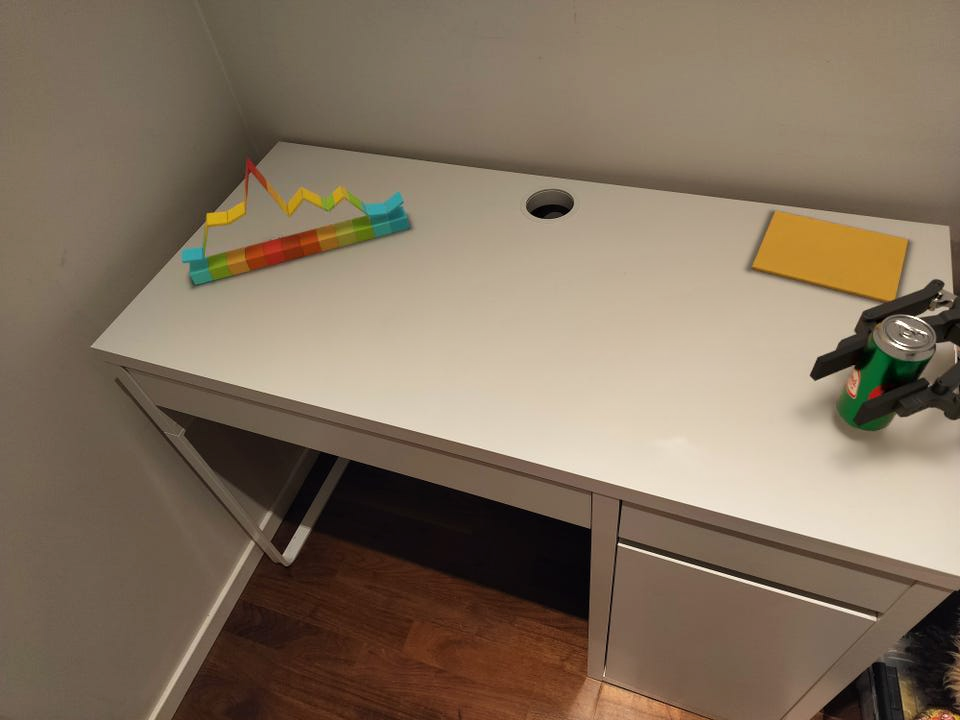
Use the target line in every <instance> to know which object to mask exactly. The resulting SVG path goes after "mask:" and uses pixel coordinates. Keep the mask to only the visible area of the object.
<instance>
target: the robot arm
mask: <svg viewBox="0 0 960 720" xmlns="http://www.w3.org/2000/svg"><path fill="white" fill-rule="evenodd" d="M945 286H946V284H945V282H944V281H943V280H942V279H938V278H934V279H932V280H931V281H929V283H927V284H926V286H924V287H923V288H921V289H919V290H916V291H914V292H911V293H907V294H905V295H902V296H900V297H897V298H895V299H894V300H891V301H889V302H883V303H881V304H878V305H876V306H874V307H873V306H872V307H869V308H867V309H865V310H863V311H862V312H861V315H860V316H859V319H858V320H857V323H856V325H855V327H854V329H853V330H854V331H853V332H854V333H855V334H852V335H850V336H847V337H845V338H842V339H841V340H840V341H839V342H838V343H837V345H836V348H835V350H832V351H829V352H827V353H824V354H822V355H819V356H817V357H816V359H815V362H814V363H813V366H812V369H811V371H810V373H809V377H810V378H811V379H812V380H813V381H814V382H816V381H818V380H821V379H824V378H826V377H829V376H832V375H834V374H837V373H839V372H841V371H843V370H846V369H848V368H851V367H854V366H855V364H856V362H857V360H858V358H859V356H860V354H861V352H862V350H863V348H864V346H865V344H866V342H867V340H868V338H869V336H870V334H871V332H872V330H873V328H874V327H875V326H876V325H877V324H879V323H881V322H882V321H883V320H884V319H886V318H887V317H889V316H893V315H910V316H913V317H918V316H920V315H923V314H924V313H925V312H927V311H930V312H934V311H935V310H936V309H939V308H948V309H945V310H942V311H941V312H939V313H938V314H934V315H927V316H920V317H918V318H919V319H921V320H923V321H925V322H926V323H927V324H929V325H930V326H931V327H932V328H933V330H934V331H935V334H936V344H943V343H947V342H949V343H952V344H953V345H955V346H957V347H959V348H960V294H959V295H956V294H954V293H952V292H949V291H947V290H946V289H944V287H945ZM959 387H960V359H959V360H958V361H956V362H955V363H954V364H953V365H951V367H950V368H949V369H947V370H946V371H945V372H944V373H943V374H941V376H937V377H936V378H935V380H934V381H933V383H932V384H931V383H930V381H929V380H927V379H926V378H925V377H924V376H923V377H920V378H919V379H918V380H916V381H914V382H912V383H909V384H906V385H904V386H901V387H899V388H897V389H894V390H892V391H889V392H887V393H884V394H882V395H880V396H877V397H875V398H872V399H870V400H868V401H865V402H863V403H862V404H861V406H860V408H859V410H858V412H857V413H856V415H855V417H854V419H853V422H854V423H855V424H856V425H857V426H858V427H859V426H862V425H864V424H866V423H869V422H871V421H873V420H876V419H878V418H880V417H883V416H885V415H888V414H890V413H892V412H895V413H896V415H897V416H898V417H899V418H908V417H910V416H912V415H915V414H917V413H919V412H922V411H925V410H927V409H929V408H930V409H938V410H940V411H942V412H943V415H944V417H945V418H946V419H948V420H949V421H950V420H951V421H957V420H959V419H960V392H958V393H956V392H954V391H956V389H958V388H959Z"/></svg>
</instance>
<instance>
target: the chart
mask: <svg viewBox="0 0 960 720" xmlns="http://www.w3.org/2000/svg"><path fill="white" fill-rule="evenodd" d="M245 162H246V163H245V164H246V165H245V177H244V192H243V201H242V202H239V203H237V204H236V205H235V206H233V207H232V208H230V209H228V210H227V211H217V212H216V211H215V212H206V216H205V222H204V223H205V224H204V230H203V231H204V232H203V238H202V239H203V240H202V245H201V246H198V247H191V248H182V249H181V263H182V264H188V263H189V276H190V278H191V280H192V282H193V283H194V285H195V286H197V285H200V284H205V283H208V282H213V281H216V280H220V279H224V278H228V277H231V276H236V275H239V274H243V273H247V272H251V271H255V270H259V269H262V268H266V267H270V266H274V265H277V264H281V263H284V262H288V261H293V260H297V259H300V258H304V257H307V256H311V255H315V254H318V253H322V252H328V251H330V250H334V249H338V248H342V247H345V246H348V245H352V244H353V245H354V244H357V243H360V242H364V241H368V240H371V239H376V238H379V237H383V236H387V235H391V234H395V233H398V232H401V231H405V230H410V224H409V223H410V222H409V219H408V216H407V213H406V210H405V208H404V207H405V206H403V204H404V203H405V201H404V197H403V196H402V193H401V191H400V190H398V191H397V192H395V193H394V194H393V195H392V196H390V197H389V198H388V199H386V200H385V201H384V202H376V203H368V204H367V203H365V202H364V201H362V200H360V199H359V198H358V197H357V196H355V195H354V194H353V193H352V192H350V191H349V190H347V189H346V188H345V187H344V186H343V185H339V186H338V187H337V188H336V189H335V190H333V192H332V193H331V194H330V195H328V196H327V197H326V198H324V197H322V196H320V195H318V194H316V193H314V192H312V191H311V190H309V189H307V188H305V187H303V186H300V187H299V188H298V190H297V191H296V192H295V193H294V195H293V196H292V198H291V199H290V200H289V201H288V202H287V203H286V202H285V201H284V199H283V198H282V197H281V196H280V194H278V192H277V191H276V190H275V188H274V187H273V186H272V185H271V183H270V182H269V181H268V180H267V179H266V177H264V175H263V174H262V173H261V171H260V170H259V169H258V167H256V165H254V163H253V162H252V161H251V159H250V158H249V157H247V158H246V161H245ZM250 173H251V174H252V175H253V176H254V177H255V178H256V180H257V181H258V182H259V183H260V184H261V186H262V187H263V188H264V190H265V191H266V192H267V193H268V194H269V196H271V198H272V199H273V200H274V202H276V203H277V205H278V206H279V207H280V209H281V210H283V212H284V213H285V214H286V215H287V217H288V219H289V218H292V216H294V214H295V212H296V211H297V210H298V208H299V207H300V206H301V205H302V204H303V202H304V201H306V202H307V203H310V204H311V205H313V206H315V207H317V208H319V209H321V210H323V211H325V212H326V213H330V212H331V211H332V210H334V209H335V208H336V206H338V205H339V204H340V203H341V202H342V201H344V200H346V201H347V202H348V203H350V204H351V205H352V206H354V207H355V208H356V209H357V210H359V211H360V212H362V213H364V215H362V216H359V217H355V218H351V219H346V220H343V221H339V222H335V223H331V224H328V225H324V226H320V227H315V228H312V229H308V230H304V231H302V232H298V233H294V234H290V235H286V236H285V235H284V236H282V237H278V238H275V239H271V240H267V241H263V242H259V243H254V244H252V245H248V246H245V247H240V248H236V249H233V250H232V249H231V250H229V251H224V252H220V253H217V254H212V255H209V256H205V254H206V248H207V241H208V233H209V228H214V227H224V226H229V225H232V224H233V223H235V222H236V221H238V220H240V219H242V218H243V217H245V216H246V215H247V209H248V207H247V206H248V194H249V193H248V192H249V181H250V180H249V179H250Z"/></svg>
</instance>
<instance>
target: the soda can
mask: <svg viewBox="0 0 960 720" xmlns="http://www.w3.org/2000/svg"><path fill="white" fill-rule="evenodd" d="M919 318H920V317H917V316H915V317H913V316H910V315H893V316H889V317H887V318H886V319H884V320H883V321H882V322H881V323H879V324H877V325H876V326H875V327H874V328H873V330H872V332H871V334H870V336H869V338H868V340H867V342H866V344H865V346H864V348H863V350H862V352H861V354H860V356H859V358H858V360H857V362H856V364H855V365H854V366H853V368H852V370H851V372H850V374H849V375H848V377H847V380H846V381H845V383H844V386H843V387H842V390H841V391H840V392H839V393H840V394H839V395H838V397H837V399H836V404H835V406H836V407H835V408H836V411H837V414H838V415H839V416H840V418H841V419H842V420H843V421H844V422H845V423H846V424H847V425H849V426H851V428H854V429H857V430H860V431H864V432H878V431H882V430H884V429H886V428H887V427H889V426H890V425H891V423H892V422H893V420H894V419H895V418H896V415H897V414H896V413H895V412H892V413H890V414H888V415H885V416H883V417H880V418H878V419H876V420H873V421H871V422H869V423H866V424H864V425H862V426H859V427H858V426H857V425H856V424H855V423H854V422H853V419H854V417H855V415H856V413H857V412H858V410H859V408H860V406H861V404H862V403H863V402H865V401H868V400H870V399H872V398H875V397H877V396H880V395H882V394H884V393H887V392H889V391H892V390H894V389H897V388H899V387H901V386H904V385H906V384H909V383H912V382H914V381H916V380H918V379H921V376H922V375H923V373H924V371H925V370H926V368H927V366H928V365H929V364H930V362H931V360H932V359H933V357H934V355H935V353H936V351H937V343H936V334H935V331H934V330H933V328H932V327H931V326H930V325H929V324H927V323H926V322H925V321H923V320H921V319H919Z"/></svg>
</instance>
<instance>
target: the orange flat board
mask: <svg viewBox="0 0 960 720" xmlns="http://www.w3.org/2000/svg"><path fill="white" fill-rule="evenodd" d="M908 243H909V238H903V237H899V236H895V235H889V234H886V233H880V232H876V231H875V232H874V231H871V230H866V229H863V228H862V229H861V228H858V227H853V226H847V225H844V224H838V223H834V222H829V221H825V220H820V219H815V218H811V217H807V216H802V215H797V214H792V213H788V212H784V211H779V210H775V211H774V213H773V215H772V217H771V220H770V222H769V225H768V227H767V230H766V232H765V235H764V237H763V238H762V241H761V244H760V245H759V246H760V247H759V249H758V251H757V253H756V256H755V258H754V261H753V263H752V265H751V270H755V271H759V272H763V273H767V274H771V275H775V276H778V277H783V278H787V279H790V280H795V281H799V282H803V283H807V284H810V285H815V286H819V287H823V288H827V289H831V290H834V291H838V292H843V293H848V294H850V295H855V296H858V297H862V298H866V299H871V300H874V301H879V302H883V303H886V302H889V301H891V300H894V299H897V298H896V297H897V292H898V288H899V283H900V279H901V275H902V271H903V266H904V262H905V257H906V253H907V248H908V245H909V244H908Z"/></svg>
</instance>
